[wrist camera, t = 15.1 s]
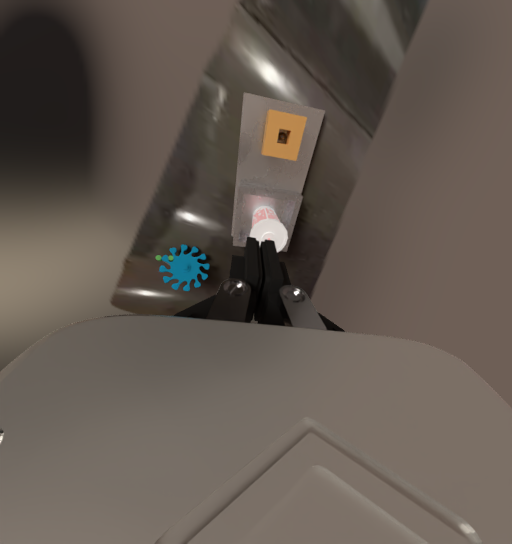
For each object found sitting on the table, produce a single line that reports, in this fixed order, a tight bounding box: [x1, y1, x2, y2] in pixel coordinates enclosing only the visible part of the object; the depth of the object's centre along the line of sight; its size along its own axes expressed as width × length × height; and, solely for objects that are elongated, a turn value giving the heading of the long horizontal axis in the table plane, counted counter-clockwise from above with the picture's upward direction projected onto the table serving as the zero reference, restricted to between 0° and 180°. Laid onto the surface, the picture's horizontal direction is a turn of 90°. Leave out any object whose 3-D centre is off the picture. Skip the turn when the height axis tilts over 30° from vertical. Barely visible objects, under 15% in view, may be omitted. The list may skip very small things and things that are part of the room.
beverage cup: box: [250, 206, 288, 252], centre depth 31 cm, size 6×6×14 cm
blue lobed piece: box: [156, 245, 209, 291], centre depth 42 cm, size 11×6×10 cm
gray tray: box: [231, 93, 325, 252], centre depth 33 cm, size 22×12×4 cm, turn 171°
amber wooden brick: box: [261, 109, 307, 161], centre depth 27 cm, size 5×5×3 cm
